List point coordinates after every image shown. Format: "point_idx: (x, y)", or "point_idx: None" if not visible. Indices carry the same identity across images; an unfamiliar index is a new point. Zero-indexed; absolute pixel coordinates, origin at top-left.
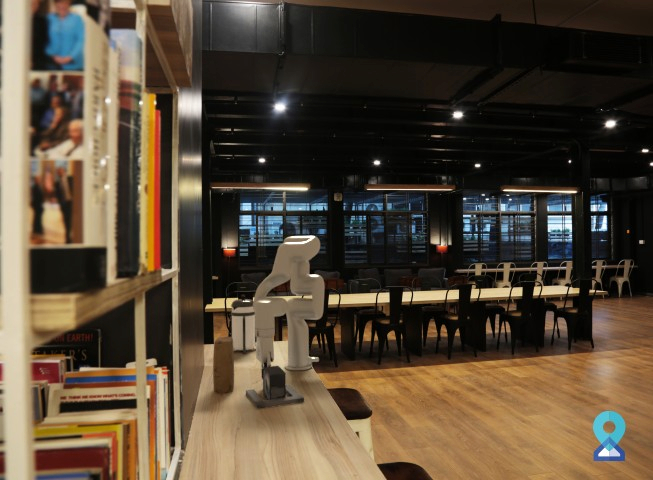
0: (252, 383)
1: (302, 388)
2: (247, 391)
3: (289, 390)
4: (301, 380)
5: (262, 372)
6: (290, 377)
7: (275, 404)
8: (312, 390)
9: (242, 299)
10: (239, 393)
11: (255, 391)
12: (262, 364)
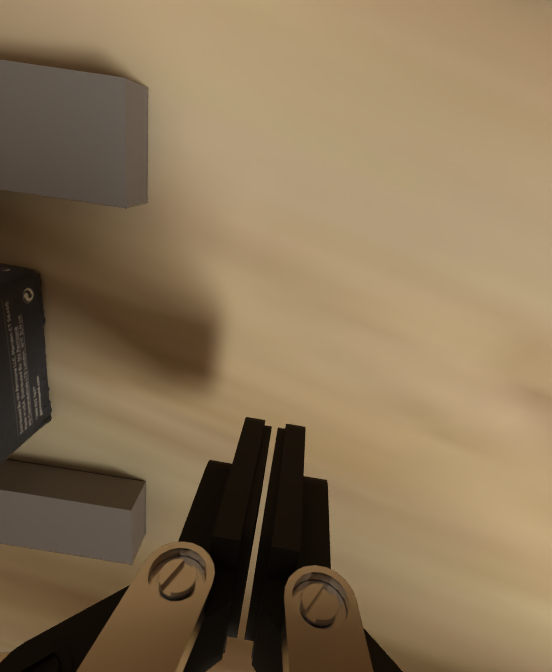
0: (528, 337)
1: (102, 593)
2: (55, 76)
3: None
4: None
5: (227, 488)
6: (429, 652)
7: None
8: (29, 615)
9: None
10: (229, 6)
11: (18, 188)
12: (286, 665)
